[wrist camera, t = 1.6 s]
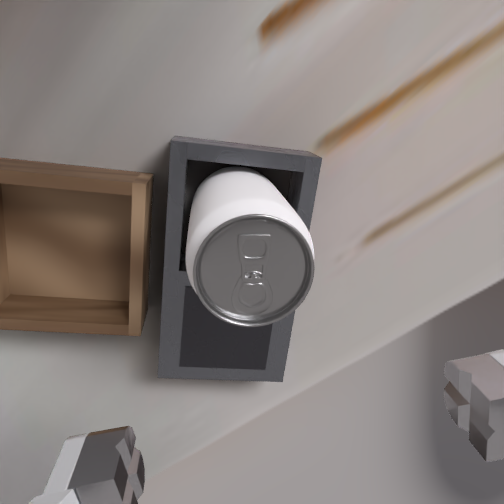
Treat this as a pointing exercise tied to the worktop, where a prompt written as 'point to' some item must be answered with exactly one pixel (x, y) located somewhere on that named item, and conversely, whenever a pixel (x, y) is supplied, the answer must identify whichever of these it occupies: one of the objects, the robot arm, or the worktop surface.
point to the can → (247, 249)
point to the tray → (185, 298)
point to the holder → (74, 248)
